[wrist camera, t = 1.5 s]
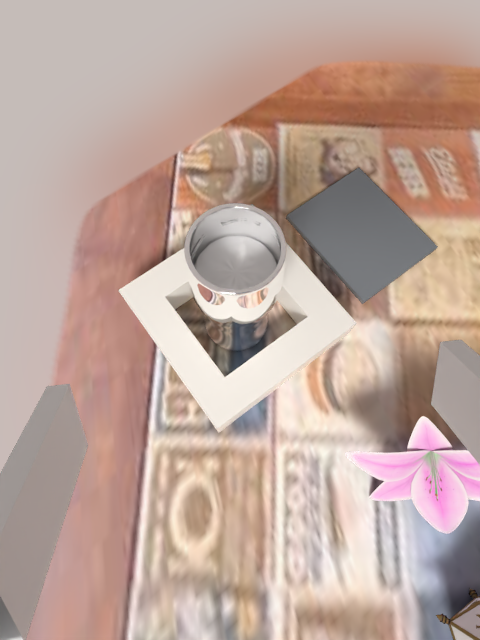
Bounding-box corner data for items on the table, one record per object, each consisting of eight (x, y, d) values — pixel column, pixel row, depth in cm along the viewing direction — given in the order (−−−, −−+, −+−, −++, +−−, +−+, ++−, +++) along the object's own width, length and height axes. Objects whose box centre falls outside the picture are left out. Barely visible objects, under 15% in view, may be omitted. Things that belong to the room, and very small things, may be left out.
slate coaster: (357, 170, 47) (358, 167, 47) (435, 249, 44) (437, 246, 44) (286, 218, 45) (286, 215, 45) (362, 303, 42) (364, 301, 42)
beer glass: (195, 351, 41) (172, 291, 27) (205, 284, 43) (189, 195, 29) (269, 359, 41) (285, 302, 26) (275, 291, 43) (293, 205, 29)
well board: (251, 225, 45) (252, 203, 41) (345, 336, 41) (356, 323, 38) (129, 305, 42) (118, 290, 38) (218, 432, 38) (216, 429, 35)
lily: (316, 435, 40) (333, 497, 30) (415, 347, 37) (466, 384, 28) (405, 520, 41) (448, 605, 31) (506, 439, 39) (584, 505, 29)
